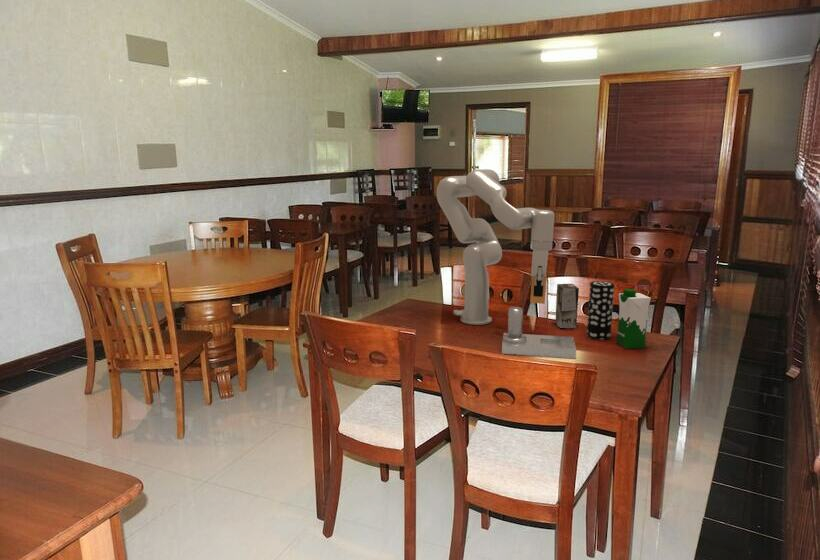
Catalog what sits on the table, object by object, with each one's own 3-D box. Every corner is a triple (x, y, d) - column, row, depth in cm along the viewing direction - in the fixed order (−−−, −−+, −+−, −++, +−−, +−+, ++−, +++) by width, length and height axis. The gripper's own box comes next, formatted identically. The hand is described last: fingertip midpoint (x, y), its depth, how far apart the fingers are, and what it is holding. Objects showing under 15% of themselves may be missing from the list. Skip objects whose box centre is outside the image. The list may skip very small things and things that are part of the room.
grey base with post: (501, 353, 192) (503, 313, 189) (503, 340, 205) (504, 303, 202) (575, 358, 187) (578, 317, 184) (572, 345, 200) (575, 306, 198)
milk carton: (612, 342, 204) (616, 287, 200) (636, 340, 205) (640, 286, 201) (625, 349, 195) (629, 293, 191) (649, 348, 197) (654, 292, 193)
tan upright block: (530, 302, 207) (532, 275, 205) (530, 299, 211) (532, 273, 208) (544, 303, 206) (546, 276, 204) (544, 300, 210) (546, 274, 207)
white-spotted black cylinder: (584, 333, 214) (587, 281, 210) (606, 333, 214) (610, 281, 210) (590, 340, 206) (593, 286, 202) (613, 340, 206) (617, 286, 202)
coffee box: (576, 329, 219) (579, 288, 216) (560, 329, 219) (562, 288, 216) (570, 322, 228) (573, 283, 225) (554, 322, 228) (556, 283, 225)
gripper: (530, 240, 212) (527, 288, 216) (530, 248, 196) (527, 299, 200) (551, 241, 211) (547, 290, 215) (553, 249, 195) (549, 301, 199)
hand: (537, 294), depth 208 cm, fingers closed on tan upright block, 4 cm apart
